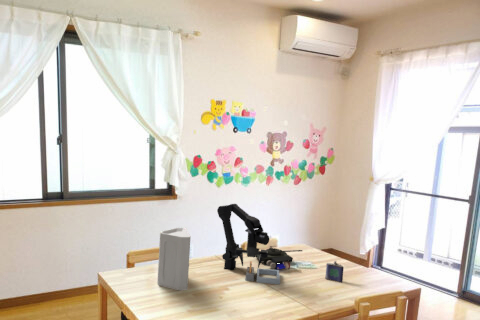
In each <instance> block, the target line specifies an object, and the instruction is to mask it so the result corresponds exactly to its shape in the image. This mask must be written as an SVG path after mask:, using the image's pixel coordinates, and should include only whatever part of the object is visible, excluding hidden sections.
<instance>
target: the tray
mask: <svg viewBox="0 0 480 320" xmlns="http://www.w3.org/2000/svg"><path fill="white" fill-rule="evenodd" d="M260 275H271V276H276V277H266V276H265V277H263V276H260ZM256 283H259V284H272V285H280V284H281V276H280V269H277V270H275V269H272V268H271V269H269V268H260V267H259V268H258V267H257V268H256Z"/></svg>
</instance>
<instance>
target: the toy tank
mask: <svg viewBox="0 0 480 320" xmlns="http://www.w3.org/2000/svg"><path fill="white" fill-rule="evenodd" d="M265 250H267V251H268V257H267V258H266V257H265V259H263V260H262V261H261V263H260V264H262V265H264V266H268V265H267V261H269V260H271V261H272V258H276V257H284V256H288V257H290V258H291V259H292V261H293V260H294V258H293V257H292V256H291V255H289V254H288V252H289V253H290V252H292V253H293V252H303V249H298V250H297V249H293V250H282V249H279V248H277V246H275V245H270V246H269V248H266V249H265ZM254 258H256V259H257V260H259V258H260V255H256V256H255V257H254ZM292 261H289V262H290V263H292ZM277 263H283V262H277Z"/></svg>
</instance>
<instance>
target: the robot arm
mask: <svg viewBox="0 0 480 320" xmlns="http://www.w3.org/2000/svg"><path fill="white" fill-rule="evenodd" d="M232 213H234V215H236V216H237V217H238V218H239V219H240V220H242V221H243V223H244V225H245V226H246V229H245V231H244V232H247V241H246V242H247V243H246V249H243V247H240V244H239V243H238V244H237V243H236V240H235V237H234V236H235V235H234V232H233V228H232V227H233V226H232V222H231V217H232ZM217 214H218V215H217V216H218V217H219V218H220V220H221V221H222V226H223V230H224V231H223V232H224V236H225V239H226V240H225V242H226V246H225V252H224V253H223V254H222V255H221V257H222V260H224V267H223V270H227V271H229V270H230V271H235V270H236V268H237V259H238V258H239V260H240V262H241V266H242V267H243V266H244V254H246V258H247V257H248V258H256V257H255V256H256V255H260V258H259V259H258V264H257V268H260V267H261V266H260V265H261V264H262V263H261V261H262V260H263V259H265V257H266V258H267V257H268V251H267V250H266V249H260V248H258V244H260V245H264V246H266V245H268V244H269V242H270V236H269V235H268V232H266V231H264V228H263V226H262V224H261V220H259V218H257V217H255V216H252V215H250V214H249V213H247V212H246V211H245V210H244V209H243V208H241V207H240V206H239V205H238V204H237V203H230V204H227V205H226V204H225V205H220V206H218V207H217Z"/></svg>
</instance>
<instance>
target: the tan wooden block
mask: <svg viewBox="0 0 480 320" xmlns="http://www.w3.org/2000/svg"><path fill="white" fill-rule="evenodd" d="M252 263H253V261H251V260H250V261H249V267H250V270H249V273H251V267H253V266H252V265H253V264H252Z"/></svg>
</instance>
